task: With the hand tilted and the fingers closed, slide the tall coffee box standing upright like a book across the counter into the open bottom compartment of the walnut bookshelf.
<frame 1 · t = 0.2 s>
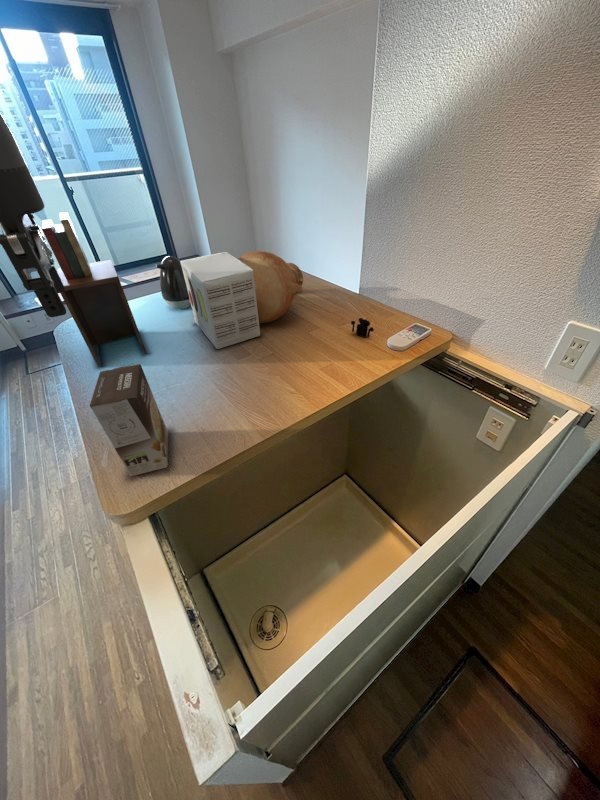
hand: (58, 303, 46), 26 cm above the table, tool pointing down, fingers open, 8 cm apart
supplement box: (227, 330, 93), on the table, touching jug
pump dispenser: (182, 306, 105), on the table
jug: (275, 309, 103), on the table, touching supplement box
coffee box: (151, 453, 59), on the table
shelf: (120, 349, 86), on the table
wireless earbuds: (362, 335, 90), on the table
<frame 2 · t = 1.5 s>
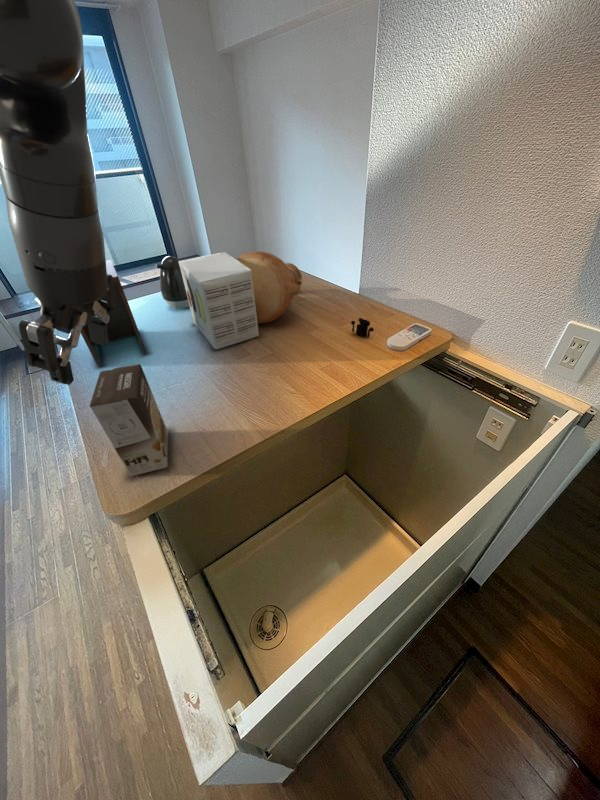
hand: (82, 360, 45), 21 cm above the table, tool tilted 20°, fingers open, 8 cm apart
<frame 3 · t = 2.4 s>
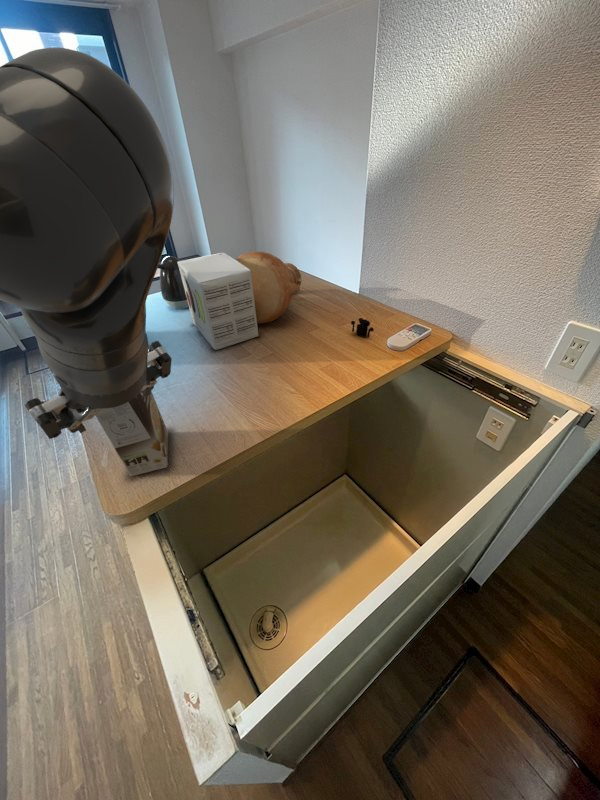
hand: (112, 406, 42), 18 cm above the table, tool tilted 40°, fingers open, 8 cm apart
nothing on the table moved.
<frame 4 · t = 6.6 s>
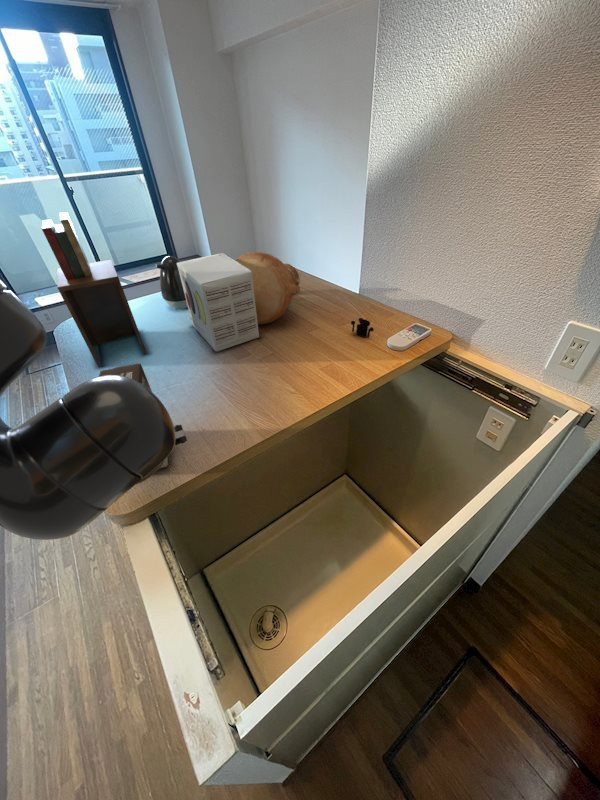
hand: (145, 449, 52), 6 cm above the table, tool tilted 45°, fingers closed
coffee box: (151, 452, 59), on the table, touching gripper
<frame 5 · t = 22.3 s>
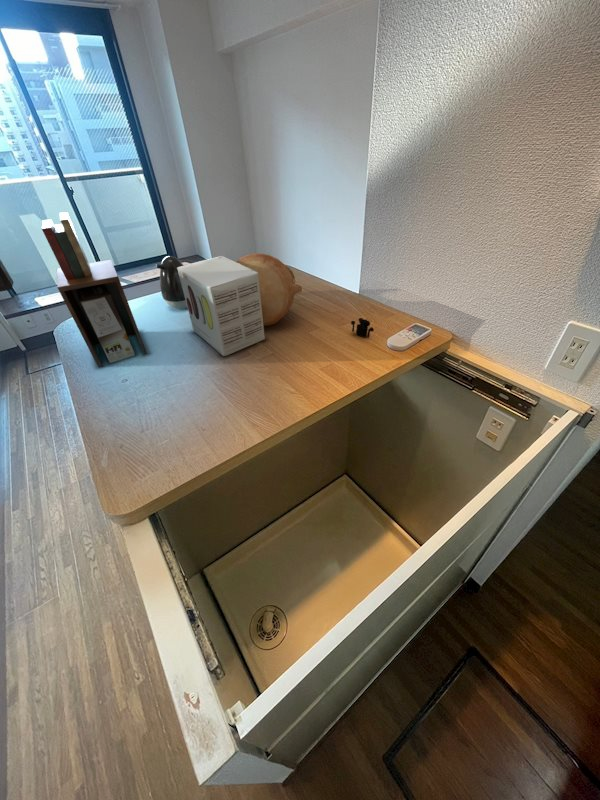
hand: (2, 288, 36), 32 cm above the table, tool pointing down, fingers closed
supplement box: (228, 336, 90), on the table, touching jug
coffee box: (119, 352, 85), on the table
at the end: coffee box inside the target area on the shelf (0.6 cm from its centre), point 0.0 cm above the shelf's base; coffee box tilted 0°; coffee box moved 39.5 cm from its start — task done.
